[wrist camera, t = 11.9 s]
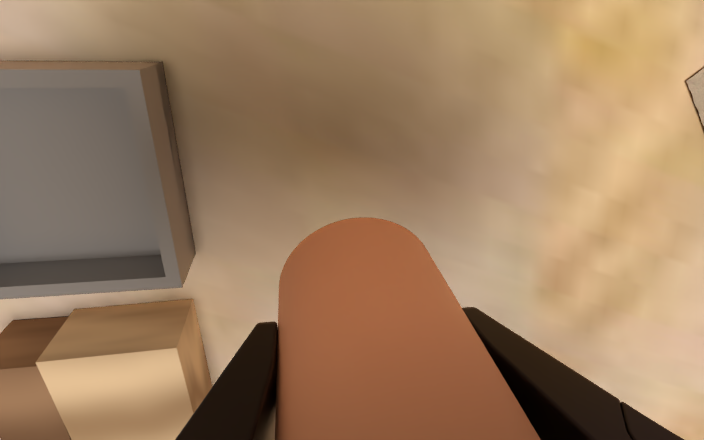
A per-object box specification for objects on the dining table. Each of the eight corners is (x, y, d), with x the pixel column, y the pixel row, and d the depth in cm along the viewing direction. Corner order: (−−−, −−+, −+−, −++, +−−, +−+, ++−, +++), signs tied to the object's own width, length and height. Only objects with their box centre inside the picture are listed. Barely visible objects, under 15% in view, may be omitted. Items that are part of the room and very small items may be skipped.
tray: (195, 253, 21) (182, 287, 18) (-3, 264, 20) (-49, 302, 17) (162, 61, 17) (139, 70, 14) (-90, 60, 16) (-166, 69, 13)
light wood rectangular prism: (218, 409, 26) (208, 470, 23) (120, 421, 26) (93, 486, 22) (194, 295, 22) (176, 347, 19) (76, 306, 22) (35, 362, 18)
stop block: (118, 441, 26) (95, 499, 23) (67, 447, 26) (37, 506, 23) (75, 316, 22) (39, 365, 19) (12, 320, 21) (-35, 372, 18)
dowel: (425, 341, 12) (581, 707, 5) (282, 352, 11) (277, 775, 5) (442, 214, 10) (701, 543, 4) (274, 220, 9) (249, 620, 3)
